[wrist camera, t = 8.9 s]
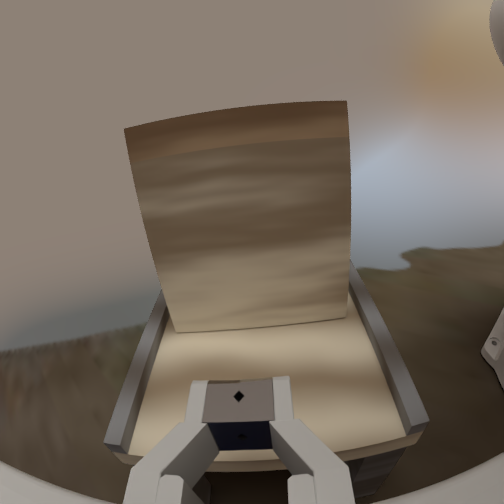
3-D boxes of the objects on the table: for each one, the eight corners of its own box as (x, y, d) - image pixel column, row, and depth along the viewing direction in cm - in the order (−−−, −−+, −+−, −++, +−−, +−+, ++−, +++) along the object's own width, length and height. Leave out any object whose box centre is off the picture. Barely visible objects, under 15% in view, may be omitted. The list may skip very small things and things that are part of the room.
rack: (377, 495, 17) (429, 420, 11) (176, 509, 18) (103, 442, 12) (331, 324, 37) (333, 230, 31) (203, 335, 38) (180, 246, 32)
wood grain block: (346, 317, 21) (346, 100, 14) (176, 332, 21) (123, 128, 15) (316, 243, 31) (307, 102, 25) (199, 255, 32) (174, 118, 26)
